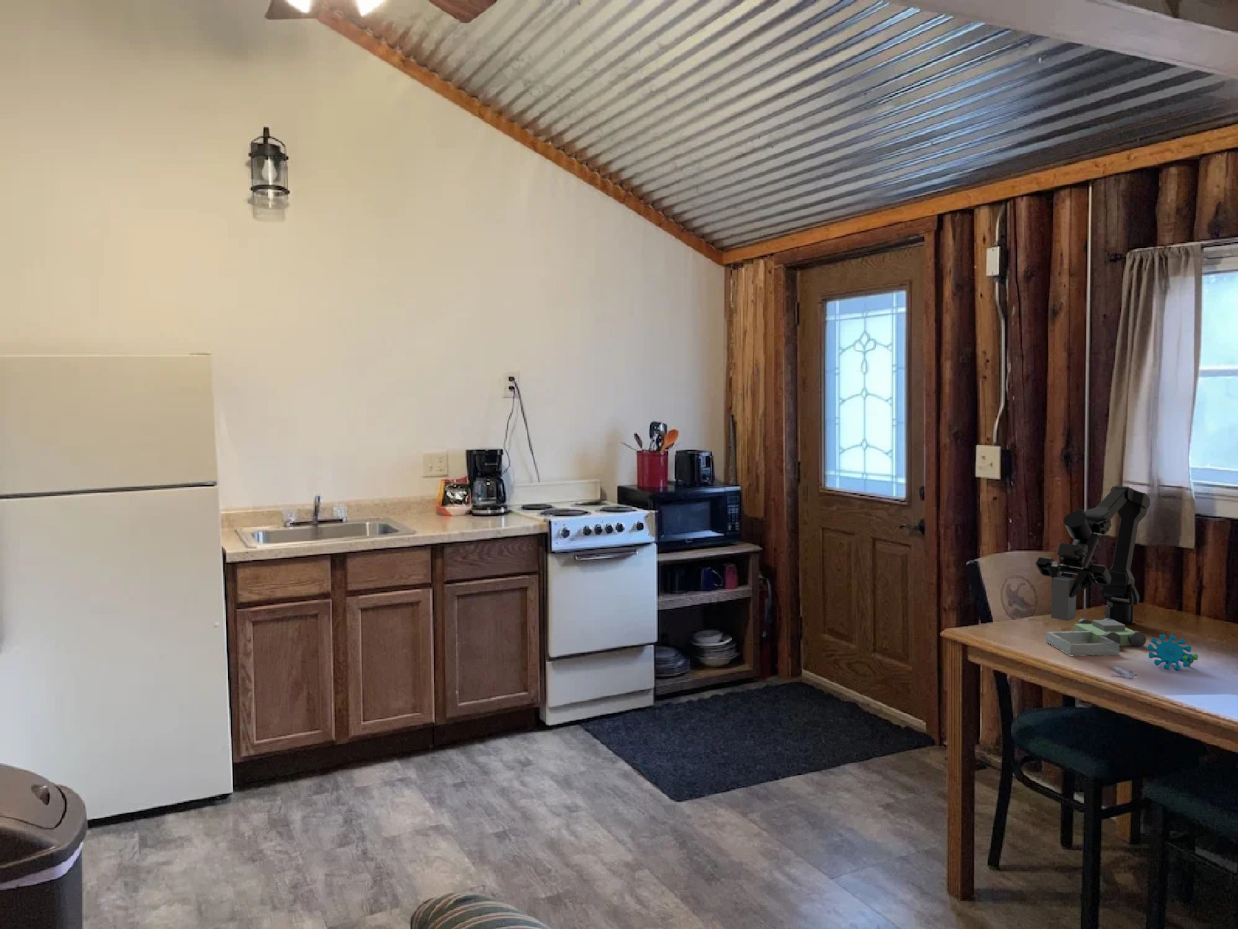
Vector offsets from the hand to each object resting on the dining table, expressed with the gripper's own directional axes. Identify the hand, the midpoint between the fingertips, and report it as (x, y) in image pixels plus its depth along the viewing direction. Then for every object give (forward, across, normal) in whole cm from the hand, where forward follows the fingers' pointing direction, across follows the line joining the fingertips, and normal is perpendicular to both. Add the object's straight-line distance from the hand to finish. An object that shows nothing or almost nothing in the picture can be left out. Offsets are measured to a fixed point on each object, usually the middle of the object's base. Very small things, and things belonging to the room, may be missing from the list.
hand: (1061, 595), depth 256 cm
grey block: (+4, 0, +6) cm, 7 cm away
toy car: (-1, +6, +20) cm, 21 cm away
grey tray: (+10, +6, +10) cm, 15 cm away
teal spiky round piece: (+9, +28, +11) cm, 31 cm away
